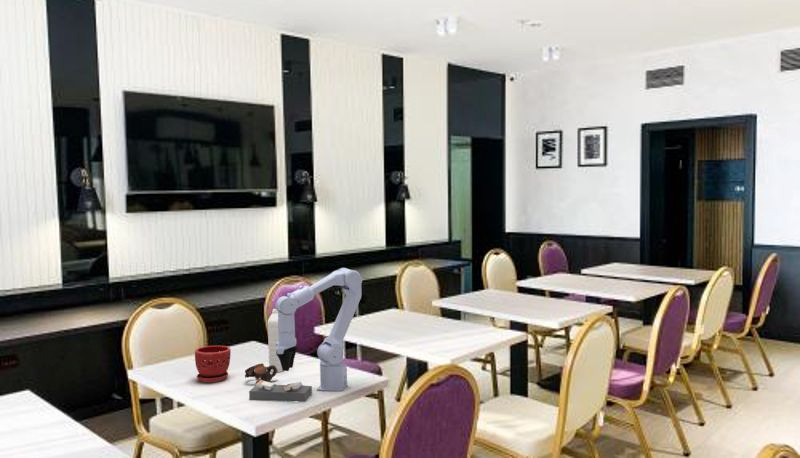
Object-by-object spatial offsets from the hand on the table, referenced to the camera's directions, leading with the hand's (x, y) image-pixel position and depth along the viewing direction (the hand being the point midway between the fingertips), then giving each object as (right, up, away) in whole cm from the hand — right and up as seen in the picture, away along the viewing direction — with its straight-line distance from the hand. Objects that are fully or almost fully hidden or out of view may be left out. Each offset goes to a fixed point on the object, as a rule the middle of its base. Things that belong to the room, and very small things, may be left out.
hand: (287, 369), depth 220 cm
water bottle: (-9, -8, +32) cm, 35 cm away
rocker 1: (-7, -5, -2) cm, 9 cm away
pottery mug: (-13, -9, +16) cm, 22 cm away
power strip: (-2, -10, -1) cm, 10 cm away
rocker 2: (+2, -5, -4) cm, 7 cm away
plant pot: (-32, -9, +21) cm, 40 cm away
